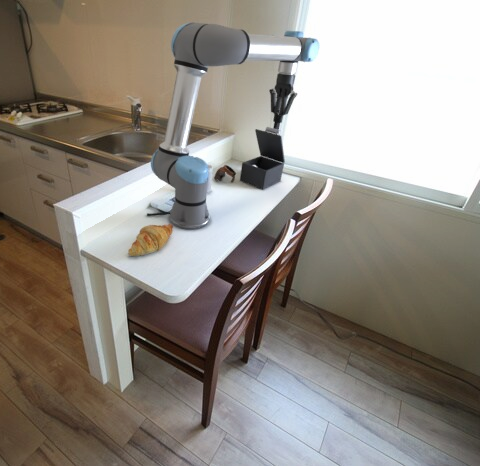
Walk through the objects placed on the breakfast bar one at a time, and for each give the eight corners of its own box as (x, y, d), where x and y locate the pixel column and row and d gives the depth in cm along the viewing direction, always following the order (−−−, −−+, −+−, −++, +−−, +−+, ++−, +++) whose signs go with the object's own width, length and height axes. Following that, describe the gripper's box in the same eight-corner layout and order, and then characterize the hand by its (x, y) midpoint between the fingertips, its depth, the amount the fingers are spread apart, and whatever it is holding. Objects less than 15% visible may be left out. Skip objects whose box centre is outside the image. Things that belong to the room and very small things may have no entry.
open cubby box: (262, 189, 150) (266, 171, 145) (239, 180, 158) (242, 162, 153) (280, 181, 160) (284, 163, 155) (257, 173, 168) (260, 155, 163)
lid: (280, 136, 142) (286, 129, 143) (255, 130, 150) (261, 122, 151) (284, 163, 155) (289, 155, 156) (260, 155, 162) (266, 148, 164)
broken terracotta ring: (216, 175, 164) (226, 162, 160) (230, 187, 162) (240, 174, 158) (207, 177, 153) (217, 163, 149) (221, 190, 152) (232, 176, 148)
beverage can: (197, 187, 149) (199, 163, 142) (211, 189, 148) (213, 164, 142) (195, 193, 144) (197, 168, 137) (210, 195, 143) (212, 169, 136)
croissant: (136, 270, 102) (144, 257, 96) (115, 248, 103) (122, 234, 98) (177, 240, 116) (185, 227, 111) (157, 221, 118) (165, 207, 112)
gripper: (304, 74, 136) (292, 131, 148) (278, 71, 143) (268, 125, 156) (295, 75, 131) (284, 134, 144) (268, 72, 138) (259, 127, 151)
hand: (276, 129), depth 150 cm, fingers closed
